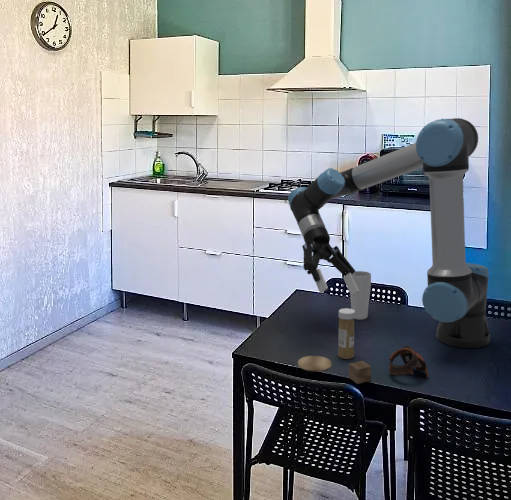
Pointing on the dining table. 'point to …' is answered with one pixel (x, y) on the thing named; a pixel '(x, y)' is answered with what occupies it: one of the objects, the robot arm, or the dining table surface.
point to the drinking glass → (361, 294)
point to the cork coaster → (314, 363)
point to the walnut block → (360, 372)
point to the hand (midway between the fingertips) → (340, 292)
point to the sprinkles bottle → (346, 333)
